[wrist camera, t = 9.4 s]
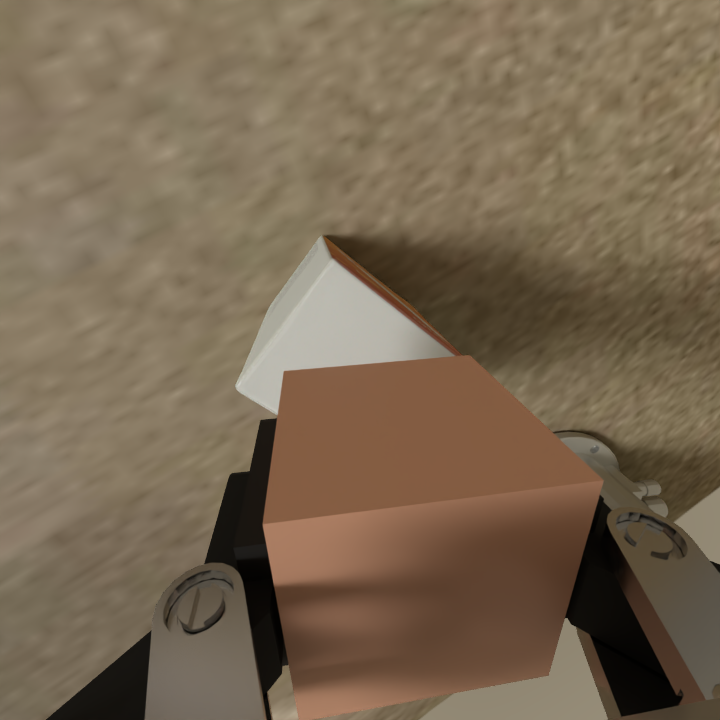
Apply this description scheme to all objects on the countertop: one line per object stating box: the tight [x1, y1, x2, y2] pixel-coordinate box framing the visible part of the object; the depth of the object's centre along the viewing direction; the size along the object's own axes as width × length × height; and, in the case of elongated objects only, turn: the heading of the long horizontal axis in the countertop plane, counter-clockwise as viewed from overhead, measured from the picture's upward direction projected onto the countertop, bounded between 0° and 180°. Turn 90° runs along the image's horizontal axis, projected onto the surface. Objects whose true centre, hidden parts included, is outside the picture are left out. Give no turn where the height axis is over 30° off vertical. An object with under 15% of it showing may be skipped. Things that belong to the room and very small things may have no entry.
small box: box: [235, 235, 463, 415], centre depth 20 cm, size 8×6×13 cm
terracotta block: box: [263, 355, 604, 720], centre depth 9 cm, size 5×5×5 cm
